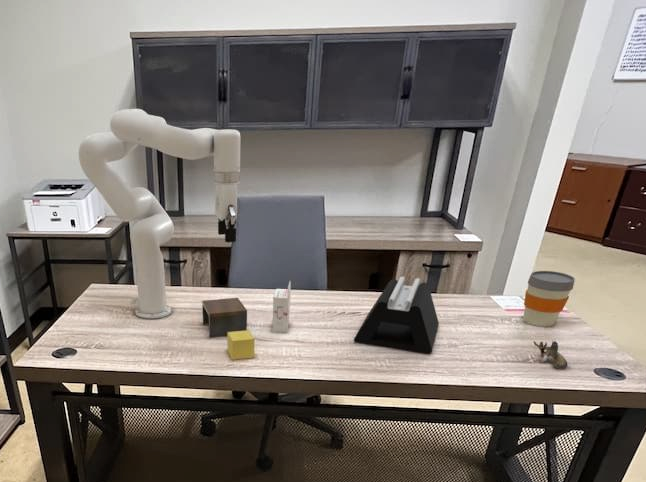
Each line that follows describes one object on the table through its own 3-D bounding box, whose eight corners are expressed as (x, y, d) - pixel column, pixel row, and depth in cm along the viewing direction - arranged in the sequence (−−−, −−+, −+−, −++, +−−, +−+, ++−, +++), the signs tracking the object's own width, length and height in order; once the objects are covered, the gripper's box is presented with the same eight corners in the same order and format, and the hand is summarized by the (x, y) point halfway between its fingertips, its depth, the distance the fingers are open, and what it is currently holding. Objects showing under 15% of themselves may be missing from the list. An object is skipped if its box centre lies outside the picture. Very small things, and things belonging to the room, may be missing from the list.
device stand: (438, 326, 172) (448, 281, 164) (431, 354, 154) (441, 305, 146) (367, 316, 180) (374, 273, 172) (353, 342, 162) (359, 295, 155)
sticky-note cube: (232, 360, 153) (232, 340, 150) (227, 350, 159) (227, 332, 155) (254, 357, 154) (254, 338, 151) (248, 348, 160) (248, 330, 157)
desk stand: (209, 337, 167) (209, 313, 163) (202, 323, 177) (202, 300, 173) (246, 334, 169) (247, 310, 165) (237, 320, 179) (237, 297, 175)
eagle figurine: (524, 353, 151) (549, 361, 143) (539, 331, 150) (565, 338, 141) (541, 365, 154) (567, 373, 145) (557, 343, 152) (583, 351, 144)
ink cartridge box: (274, 322, 177) (276, 279, 170) (288, 323, 176) (291, 279, 169) (271, 332, 170) (273, 287, 162) (286, 333, 169) (289, 288, 162)
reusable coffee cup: (551, 331, 167) (567, 285, 159) (510, 321, 175) (523, 276, 167) (566, 321, 174) (582, 276, 166) (526, 311, 182) (539, 268, 174)
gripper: (208, 174, 160) (209, 232, 169) (220, 182, 145) (220, 245, 154) (232, 173, 161) (232, 230, 170) (247, 181, 146) (245, 244, 155)
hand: (226, 238), depth 162 cm, fingers open, 9 cm apart
